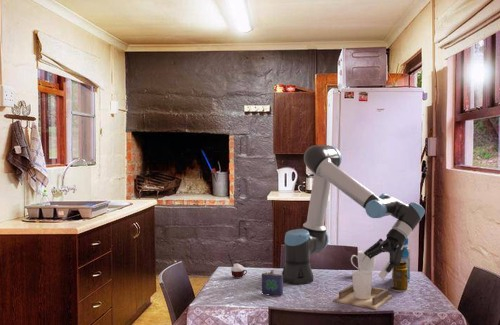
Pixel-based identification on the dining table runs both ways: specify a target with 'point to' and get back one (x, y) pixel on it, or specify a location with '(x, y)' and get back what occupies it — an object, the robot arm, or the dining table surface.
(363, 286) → the white cup
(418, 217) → the robot arm
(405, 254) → the beverage bottle
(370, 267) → the mug
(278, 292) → the flask
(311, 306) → the dining table surface
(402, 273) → the condiment
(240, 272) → the cocoa
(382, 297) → the dock
